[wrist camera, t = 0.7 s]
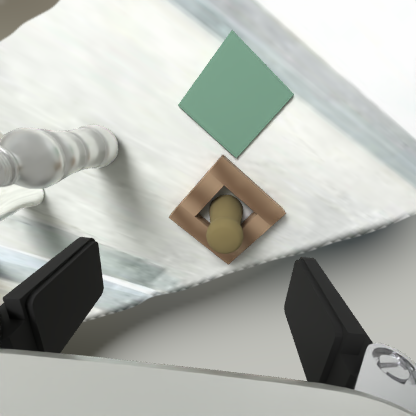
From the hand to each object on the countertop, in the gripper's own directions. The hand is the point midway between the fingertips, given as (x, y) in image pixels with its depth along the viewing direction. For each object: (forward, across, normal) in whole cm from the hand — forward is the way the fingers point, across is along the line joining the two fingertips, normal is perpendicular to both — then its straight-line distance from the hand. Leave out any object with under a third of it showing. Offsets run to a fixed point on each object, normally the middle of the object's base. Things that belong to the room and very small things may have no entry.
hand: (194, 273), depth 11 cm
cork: (+29, -3, +8) cm, 30 cm away
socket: (+28, -3, +8) cm, 30 cm away
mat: (+28, -2, -10) cm, 30 cm away
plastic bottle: (+29, +19, -2) cm, 35 cm away
